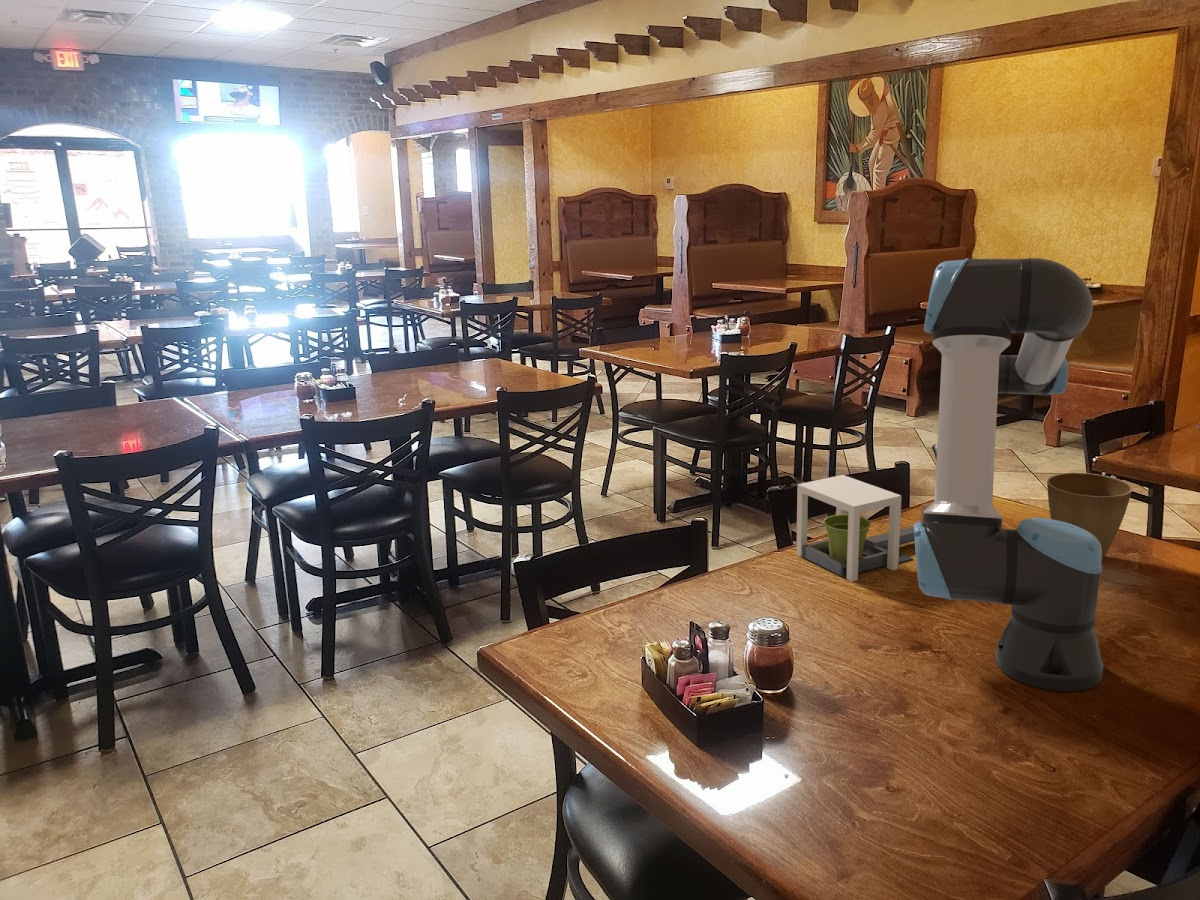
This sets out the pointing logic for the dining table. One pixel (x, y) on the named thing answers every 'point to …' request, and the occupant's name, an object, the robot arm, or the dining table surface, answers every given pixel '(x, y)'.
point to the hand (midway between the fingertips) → (953, 515)
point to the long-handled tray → (872, 549)
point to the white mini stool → (851, 514)
